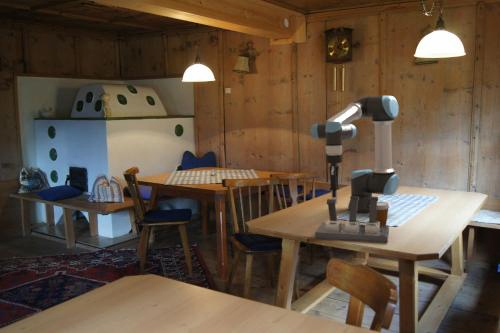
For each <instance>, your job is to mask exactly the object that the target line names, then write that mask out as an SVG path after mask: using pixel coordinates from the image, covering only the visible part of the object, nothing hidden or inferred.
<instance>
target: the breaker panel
mask: <svg viewBox="0 0 500 333" xmlns="http://www.w3.org/2000/svg"><path fill="white" fill-rule="evenodd" d="M314 234H315V239H320V240H334V241H335V240H336V241H350V242H351V241H352V242H365V243H381V244H383V243H384V244H388V242H389V235H390V226H389V225H386V226H380V222H379V221H376V223H369V220H368V221H367V220H366V223H365V224H361V220H357V219H356V222H349V219H347V221H346V223H342V219H338V218H337V221H330V218H329V219H327V220H326V222H321V224H320V225H319V226H318V228H317V229H316V231H315V233H314Z"/></svg>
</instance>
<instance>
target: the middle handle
mask: <svg viewBox="0 0 500 333" xmlns="http://www.w3.org/2000/svg"><path fill="white" fill-rule="evenodd" d="M350 200H351V206H350V211H349V218H348V220H349V222H356V220H357V218H358V217H357V214H358V212H357V204H358V201H359V196H351V195H350V196H349V201H350Z"/></svg>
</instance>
